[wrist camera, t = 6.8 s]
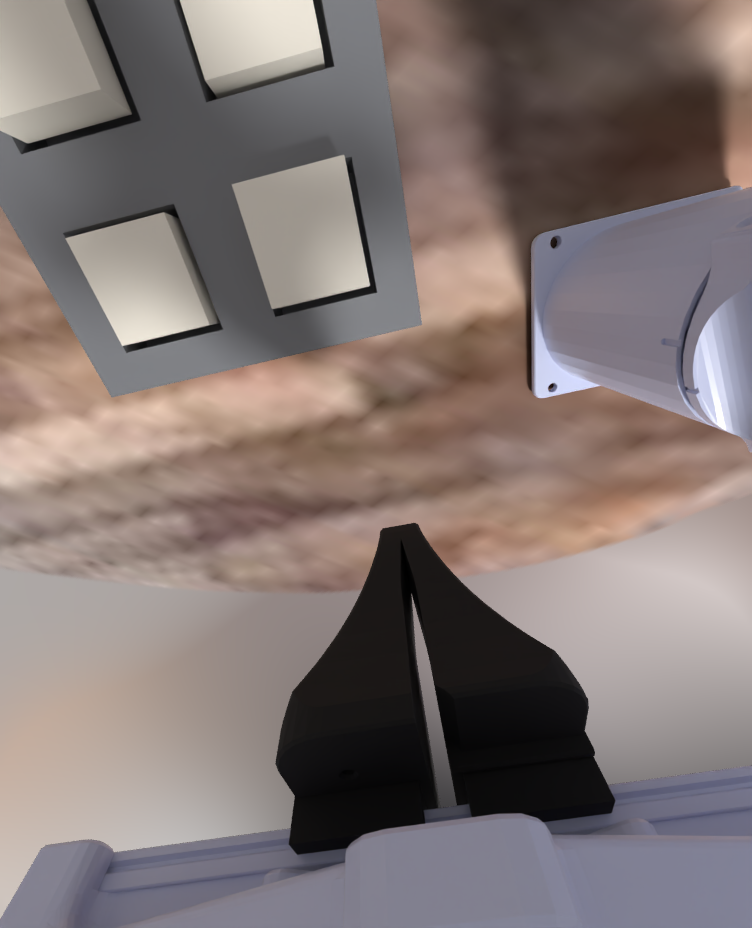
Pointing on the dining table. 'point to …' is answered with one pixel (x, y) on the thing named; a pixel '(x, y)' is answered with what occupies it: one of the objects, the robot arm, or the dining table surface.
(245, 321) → the button board
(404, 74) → the dining table surface
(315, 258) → the button
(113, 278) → the button
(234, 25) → the button
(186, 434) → the dining table surface
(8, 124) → the button
